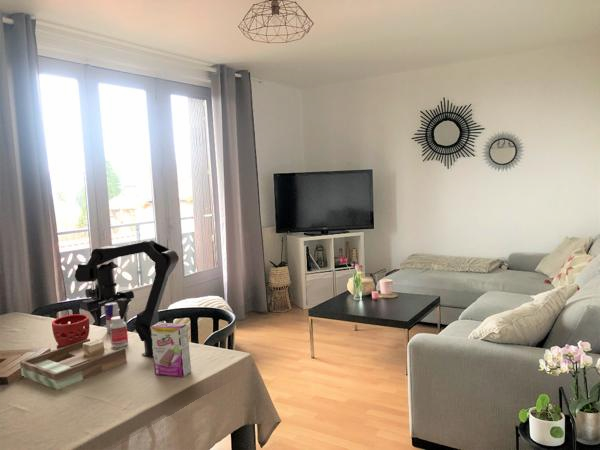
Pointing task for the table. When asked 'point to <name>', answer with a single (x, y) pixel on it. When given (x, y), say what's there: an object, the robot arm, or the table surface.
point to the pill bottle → (118, 332)
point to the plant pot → (70, 329)
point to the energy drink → (111, 313)
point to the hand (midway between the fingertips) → (110, 322)
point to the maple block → (93, 348)
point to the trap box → (69, 365)
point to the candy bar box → (170, 349)
